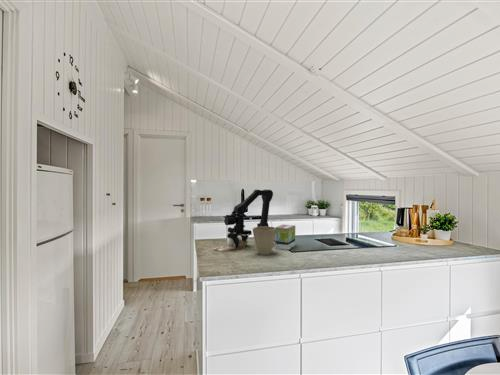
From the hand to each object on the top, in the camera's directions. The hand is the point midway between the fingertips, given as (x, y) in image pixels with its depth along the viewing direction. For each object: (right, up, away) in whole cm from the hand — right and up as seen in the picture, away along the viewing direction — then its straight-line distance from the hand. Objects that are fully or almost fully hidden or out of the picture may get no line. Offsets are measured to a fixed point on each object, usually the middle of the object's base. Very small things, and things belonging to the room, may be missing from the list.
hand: (239, 246), depth 195 cm
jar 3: (-1, -1, +14) cm, 15 cm away
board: (-11, -1, -2) cm, 11 cm away
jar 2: (-7, -1, +6) cm, 9 cm away
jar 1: (-7, -1, +11) cm, 13 cm away
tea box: (+31, -1, +2) cm, 31 cm away
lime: (+3, -1, +9) cm, 10 cm away
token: (0, -1, 0) cm, 1 cm away
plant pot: (+16, -2, -14) cm, 22 cm away
